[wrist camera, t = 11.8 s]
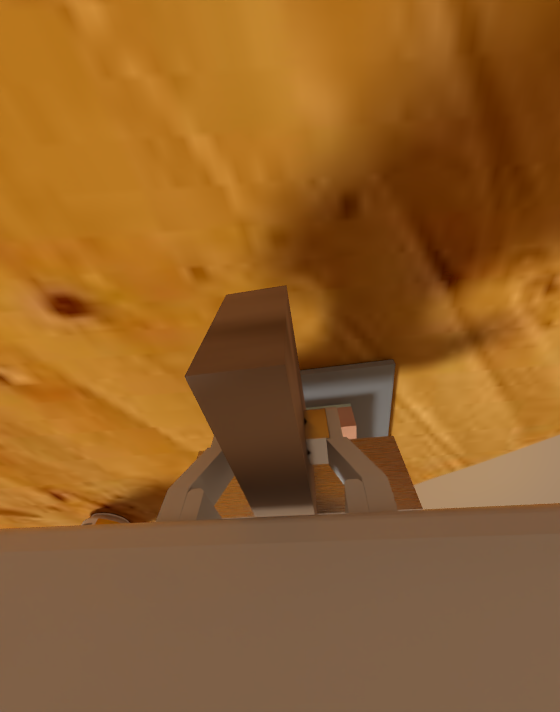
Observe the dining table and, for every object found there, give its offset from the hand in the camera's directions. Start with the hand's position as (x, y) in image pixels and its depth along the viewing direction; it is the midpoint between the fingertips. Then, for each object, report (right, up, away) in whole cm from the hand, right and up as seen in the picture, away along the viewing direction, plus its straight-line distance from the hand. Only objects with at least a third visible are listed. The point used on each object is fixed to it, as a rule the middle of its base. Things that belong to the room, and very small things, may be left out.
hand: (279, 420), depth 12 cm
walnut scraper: (0, +1, +1) cm, 2 cm away
